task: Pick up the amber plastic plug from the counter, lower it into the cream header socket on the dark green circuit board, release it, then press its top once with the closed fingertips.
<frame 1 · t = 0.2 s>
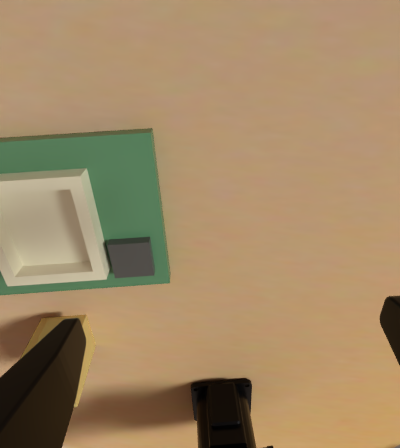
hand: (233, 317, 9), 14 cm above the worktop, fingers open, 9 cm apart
board: (55, 217, 23), on the worktop
plug: (69, 331, 29), on the worktop
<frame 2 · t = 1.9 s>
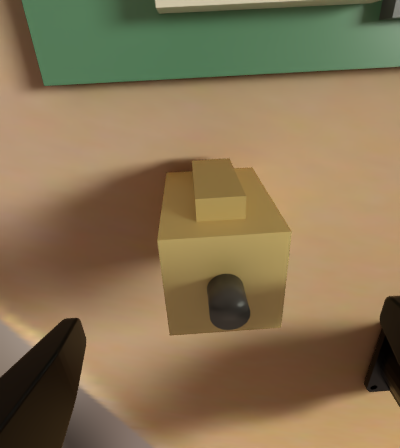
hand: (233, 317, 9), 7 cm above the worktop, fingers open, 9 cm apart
plug: (210, 208, 15), on the worktop
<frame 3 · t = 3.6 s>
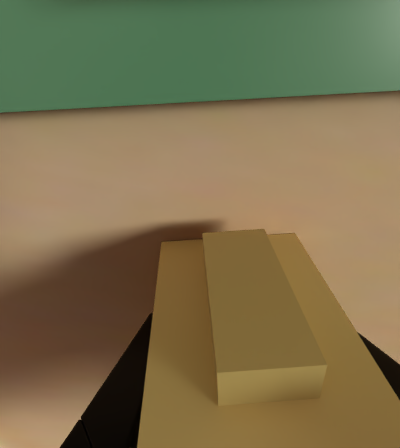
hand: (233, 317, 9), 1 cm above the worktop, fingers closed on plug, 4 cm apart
plug: (228, 289, 10), on the worktop, touching gripper
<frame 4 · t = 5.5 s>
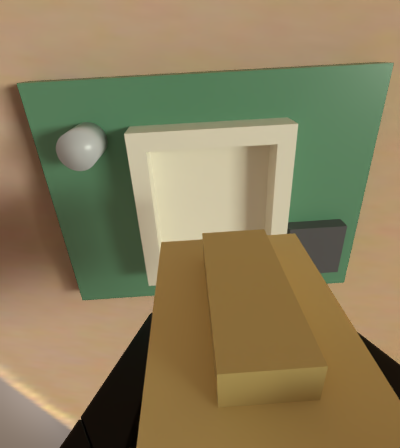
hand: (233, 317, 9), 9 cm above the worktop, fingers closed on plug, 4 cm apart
board: (209, 192, 17), on the worktop
plug: (228, 289, 10), point 8 cm above the worktop, touching gripper
when the fingers open (3 cm above the worktop, at t = 7.3 s): plug stays where it is, resting on board.
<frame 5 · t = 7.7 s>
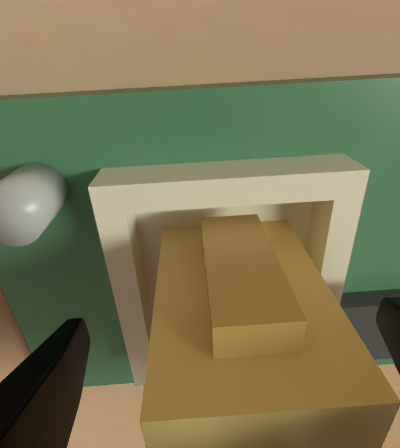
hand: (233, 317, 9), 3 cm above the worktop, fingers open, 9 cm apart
board: (221, 250, 12), on the worktop
plug: (225, 273, 11), point 1 cm above the worktop, touching board
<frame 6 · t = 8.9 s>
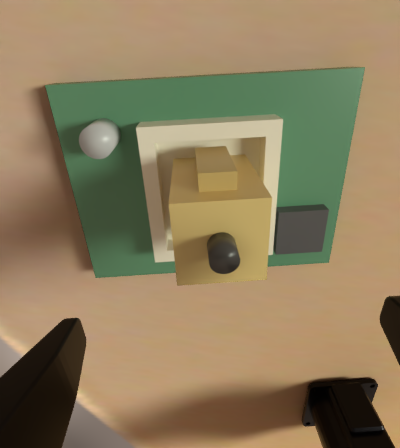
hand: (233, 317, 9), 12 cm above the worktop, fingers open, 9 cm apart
board: (208, 181, 19), on the worktop
plug: (210, 190, 18), point 1 cm above the worktop, touching board
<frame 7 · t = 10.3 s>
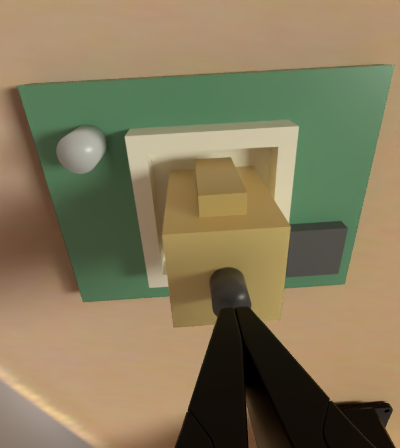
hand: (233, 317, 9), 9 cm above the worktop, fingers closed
board: (210, 194, 17), on the worktop
plug: (212, 206, 16), point 1 cm above the worktop, touching board
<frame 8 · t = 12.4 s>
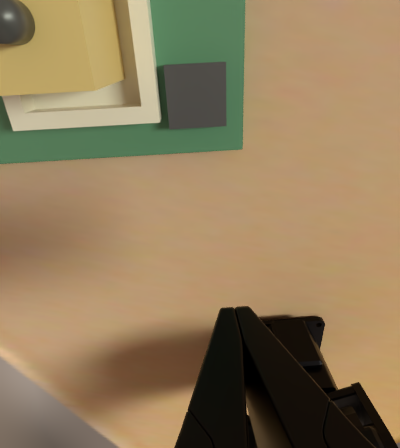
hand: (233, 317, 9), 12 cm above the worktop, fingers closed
board: (83, 35, 16), on the worktop
plug: (75, 34, 14), point 1 cm above the worktop, touching board
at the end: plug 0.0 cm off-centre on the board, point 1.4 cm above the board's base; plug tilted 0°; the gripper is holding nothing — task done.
